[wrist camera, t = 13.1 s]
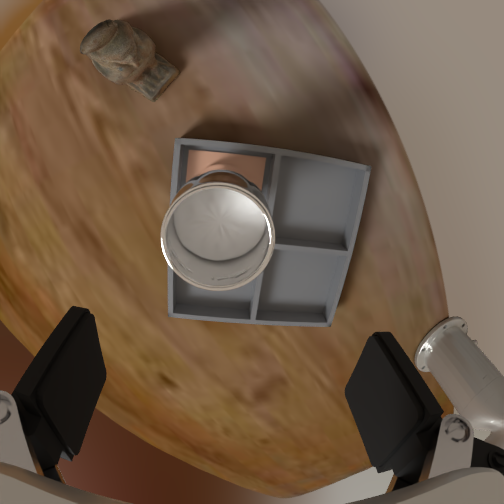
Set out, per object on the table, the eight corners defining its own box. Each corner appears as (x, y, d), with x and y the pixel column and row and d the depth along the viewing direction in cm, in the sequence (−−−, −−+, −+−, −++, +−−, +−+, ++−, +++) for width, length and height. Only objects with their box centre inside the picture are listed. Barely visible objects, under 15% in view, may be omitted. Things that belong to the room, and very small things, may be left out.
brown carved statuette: (183, 75, 28) (185, 51, 13) (149, 109, 29) (117, 120, 14) (116, 19, 22) (64, -39, 7) (83, 53, 23) (5, 27, 8)
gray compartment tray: (359, 163, 31) (371, 166, 28) (324, 313, 38) (330, 326, 36) (180, 137, 28) (175, 137, 26) (172, 303, 36) (168, 316, 33)
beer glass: (189, 159, 28) (152, 180, 15) (257, 159, 29) (282, 179, 15) (190, 223, 31) (162, 294, 17) (254, 223, 32) (275, 294, 18)
